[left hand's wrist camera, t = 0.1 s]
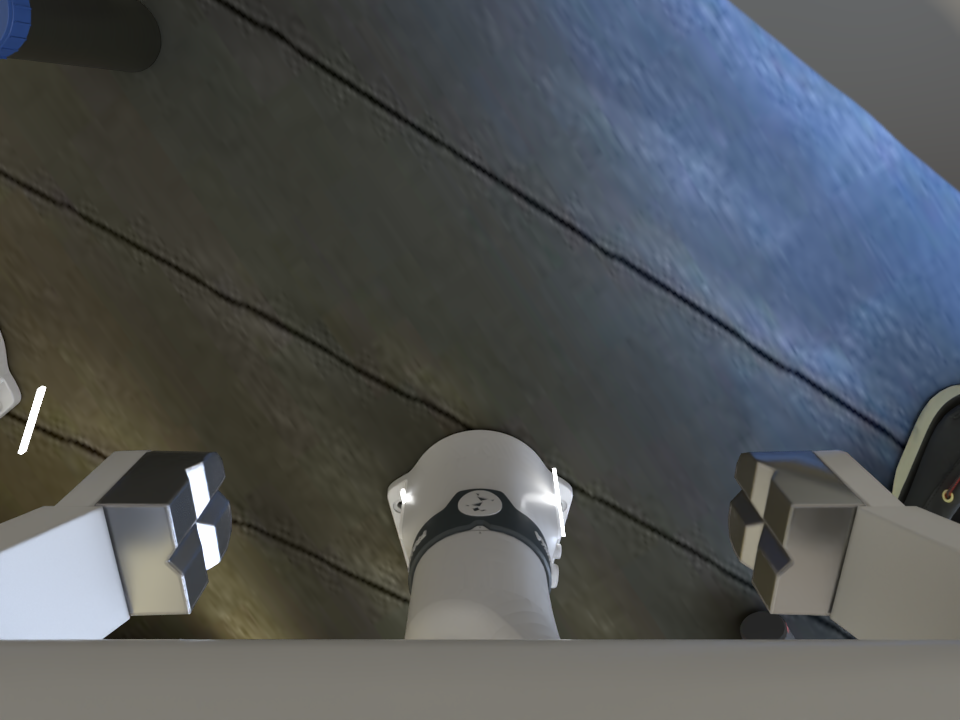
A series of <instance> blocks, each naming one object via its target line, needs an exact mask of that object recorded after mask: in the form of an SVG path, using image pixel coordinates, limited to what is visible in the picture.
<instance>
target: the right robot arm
mask: <svg viewBox="0 0 960 720" xmlns="http://www.w3.org/2000/svg"><path fill="white" fill-rule="evenodd" d="M45 389H46V387H44V386H42V387H40V388H39V389H38V390H37V393H36V396H35V400H34V403H33V406H32V409H31V413H30V416H29V419H28V422H27V426H26V429H25V432H24V435H23V439H22V442H21V445H20V448H19V452H18V453H19V454H23V453H24V452H26V450H27V447H28V444H29V441H30V437H31V434H32V431H33V428H34V424H35V421H36V418H37V415H38V412H39V408H40V405H41V402H42V399H43V396H44V392H45ZM20 401H21V393H20V390H19V388H18V386H17V384H16V382H15V380H14V378H13V376H12V375H11V373H10V371H9V368H8V363H7V355H6V348H5V343H4V340H3V337H2V334H1V332H0V418H2V417H3V416H4V415H5V414H6V413H8V412H9V411H10V410H11V409H13V408H14V407H15V406H16V405H17V404H18V403H19V402H20Z"/></svg>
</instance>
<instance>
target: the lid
mask: <svg viewBox="0 0 960 720" xmlns="http://www.w3.org/2000/svg"><path fill="white" fill-rule="evenodd" d="M31 10H32V9H31V7H30V3H29V0H0V59H7V58H6V57H8V56H10V55H12V54H13V53H14V52H18V49H19V48H20V47H21V46H22V44H23V43H24V41H26V40H27V39H26V38H27V35H28V32H29V29H30V26H31V24H30V23H31Z"/></svg>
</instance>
